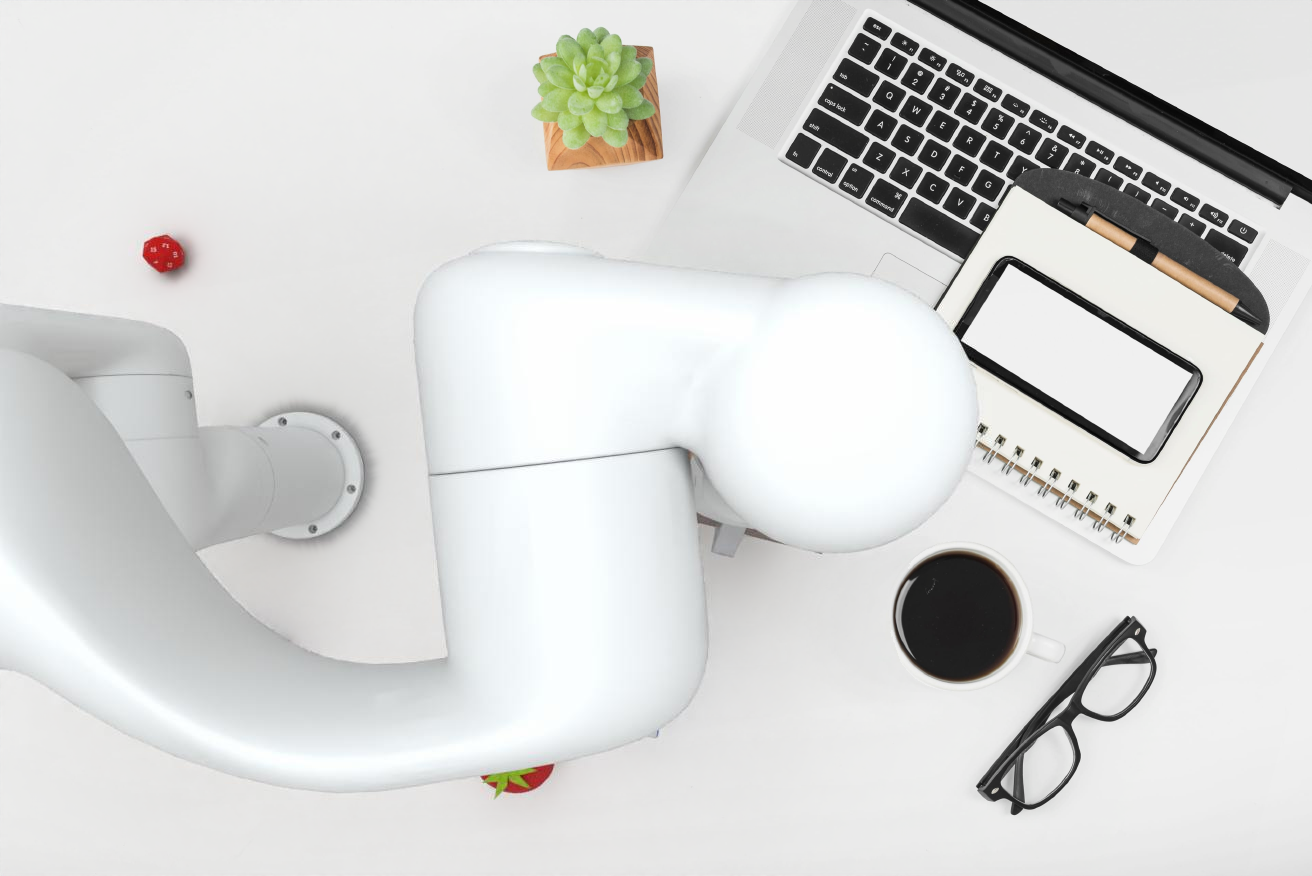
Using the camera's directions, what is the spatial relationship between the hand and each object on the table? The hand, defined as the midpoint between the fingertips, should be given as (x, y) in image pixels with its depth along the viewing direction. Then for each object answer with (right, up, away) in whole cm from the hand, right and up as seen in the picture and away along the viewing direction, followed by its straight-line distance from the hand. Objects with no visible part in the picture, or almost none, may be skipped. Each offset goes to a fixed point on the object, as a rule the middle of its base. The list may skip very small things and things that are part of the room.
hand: (742, 424), depth 51 cm
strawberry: (-18, -31, +32) cm, 48 cm away
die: (-54, +17, +33) cm, 65 cm away
